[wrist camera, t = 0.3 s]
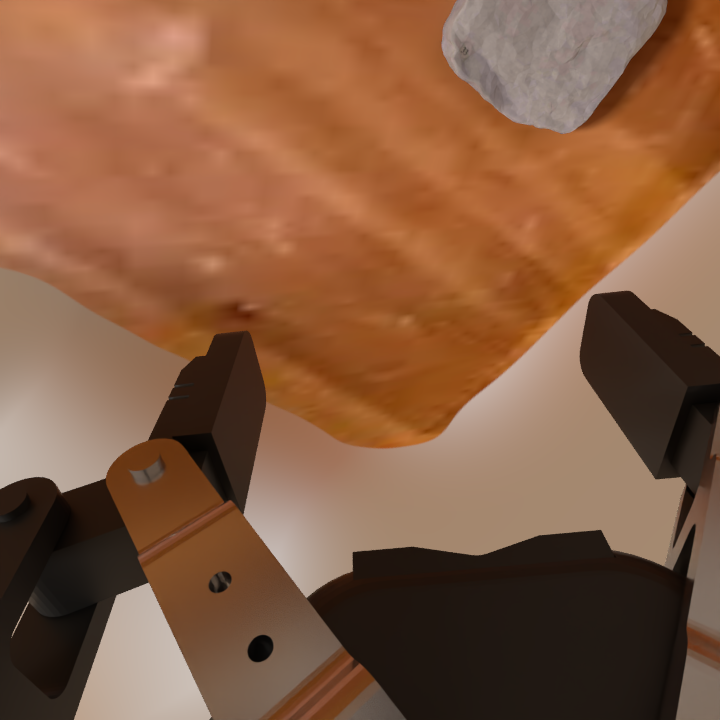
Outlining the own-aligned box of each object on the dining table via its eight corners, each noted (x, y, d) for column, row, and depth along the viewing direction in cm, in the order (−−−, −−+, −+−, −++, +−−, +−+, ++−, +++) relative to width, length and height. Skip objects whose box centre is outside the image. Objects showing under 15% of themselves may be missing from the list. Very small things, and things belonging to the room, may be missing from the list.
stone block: (560, 133, 37) (666, -22, 30) (574, 157, 33) (698, -12, 27) (419, 59, 34) (501, -126, 28) (419, 77, 31) (514, -131, 24)
